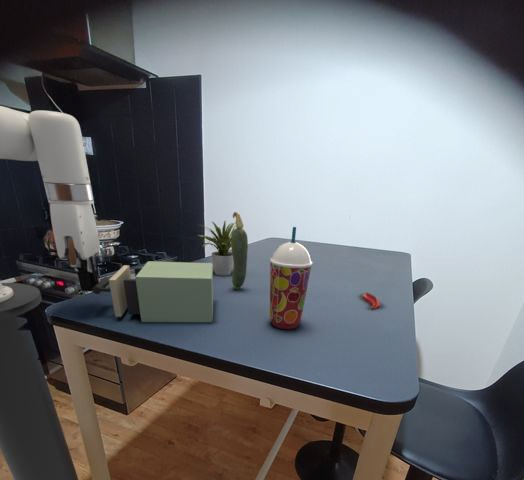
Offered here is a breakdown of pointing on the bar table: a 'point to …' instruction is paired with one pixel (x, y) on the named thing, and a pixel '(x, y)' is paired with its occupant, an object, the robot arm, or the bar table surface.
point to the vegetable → (239, 252)
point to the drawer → (121, 290)
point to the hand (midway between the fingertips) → (90, 289)
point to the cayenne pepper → (371, 300)
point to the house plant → (221, 249)
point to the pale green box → (175, 292)
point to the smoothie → (288, 283)
